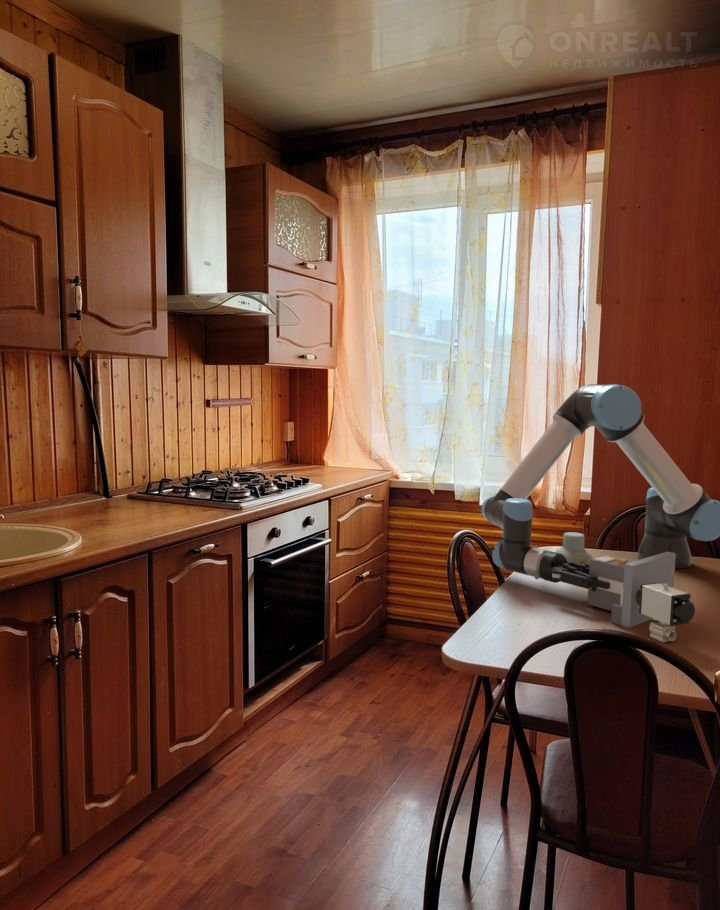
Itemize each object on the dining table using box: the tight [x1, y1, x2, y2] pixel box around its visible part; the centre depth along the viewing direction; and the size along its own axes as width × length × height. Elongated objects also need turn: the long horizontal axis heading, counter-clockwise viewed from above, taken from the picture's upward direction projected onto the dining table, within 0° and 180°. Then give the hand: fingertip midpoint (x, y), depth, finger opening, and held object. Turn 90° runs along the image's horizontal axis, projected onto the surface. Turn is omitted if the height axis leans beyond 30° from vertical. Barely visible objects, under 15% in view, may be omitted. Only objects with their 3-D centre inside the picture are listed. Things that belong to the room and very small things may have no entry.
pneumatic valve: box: [635, 583, 696, 644], centre depth 147 cm, size 6×12×12 cm, turn 23°
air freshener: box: [554, 531, 594, 564], centre depth 203 cm, size 11×8×10 cm
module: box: [587, 555, 630, 612], centre depth 165 cm, size 5×11×12 cm, turn 39°
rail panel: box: [610, 552, 676, 629], centre depth 161 cm, size 19×4×14 cm, turn 129°
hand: (630, 586), depth 162 cm, fingers open, 5 cm apart
